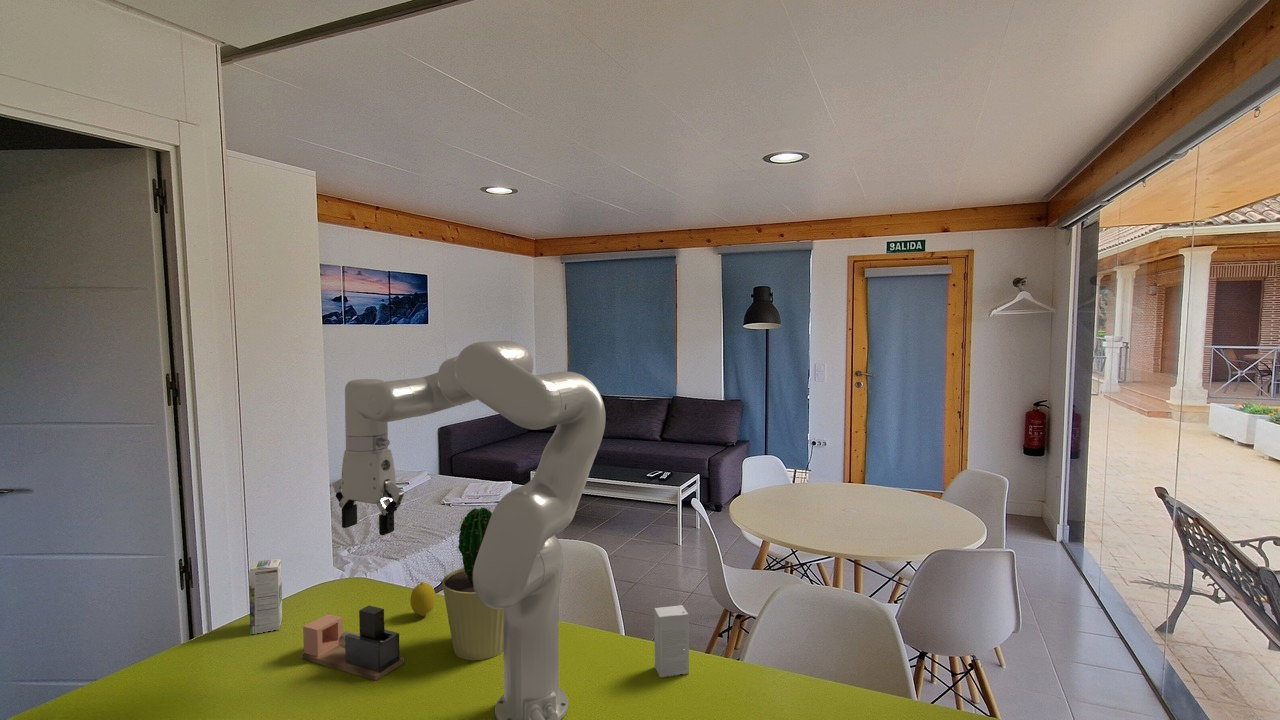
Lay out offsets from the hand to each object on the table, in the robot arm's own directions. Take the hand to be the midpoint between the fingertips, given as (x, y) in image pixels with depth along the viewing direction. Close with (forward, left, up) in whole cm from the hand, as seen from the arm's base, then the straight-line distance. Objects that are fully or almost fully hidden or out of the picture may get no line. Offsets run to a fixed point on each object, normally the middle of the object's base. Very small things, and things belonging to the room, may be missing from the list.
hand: (367, 529), depth 122 cm
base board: (+4, +3, -27) cm, 28 cm away
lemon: (+18, -12, -28) cm, 35 cm away
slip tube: (+1, +1, -25) cm, 25 cm away
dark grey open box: (0, 0, -27) cm, 27 cm away
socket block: (+10, +8, -27) cm, 30 cm away
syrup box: (+28, +20, -28) cm, 44 cm away
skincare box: (-28, -52, -28) cm, 65 cm away
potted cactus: (-2, -21, -28) cm, 35 cm away
